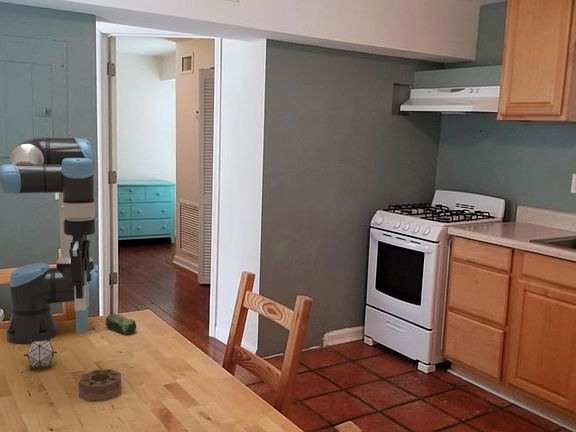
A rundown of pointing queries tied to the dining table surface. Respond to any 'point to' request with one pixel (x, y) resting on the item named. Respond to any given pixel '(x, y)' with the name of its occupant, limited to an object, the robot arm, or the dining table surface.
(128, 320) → the vegetable
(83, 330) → the teal rounded stick
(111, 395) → the bead
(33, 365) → the game die
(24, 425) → the dining table surface
